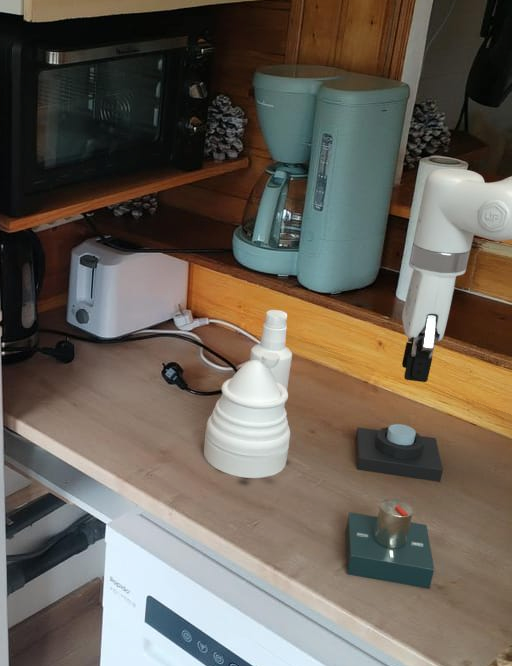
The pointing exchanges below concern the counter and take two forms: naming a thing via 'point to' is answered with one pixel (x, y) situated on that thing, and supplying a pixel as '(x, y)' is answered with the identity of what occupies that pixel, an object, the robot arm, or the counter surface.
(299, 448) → the counter surface
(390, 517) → the dial
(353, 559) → the dial panel
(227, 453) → the honey pot
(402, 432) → the light blue button cap
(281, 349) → the spray bottle
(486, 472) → the counter surface
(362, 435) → the button base
